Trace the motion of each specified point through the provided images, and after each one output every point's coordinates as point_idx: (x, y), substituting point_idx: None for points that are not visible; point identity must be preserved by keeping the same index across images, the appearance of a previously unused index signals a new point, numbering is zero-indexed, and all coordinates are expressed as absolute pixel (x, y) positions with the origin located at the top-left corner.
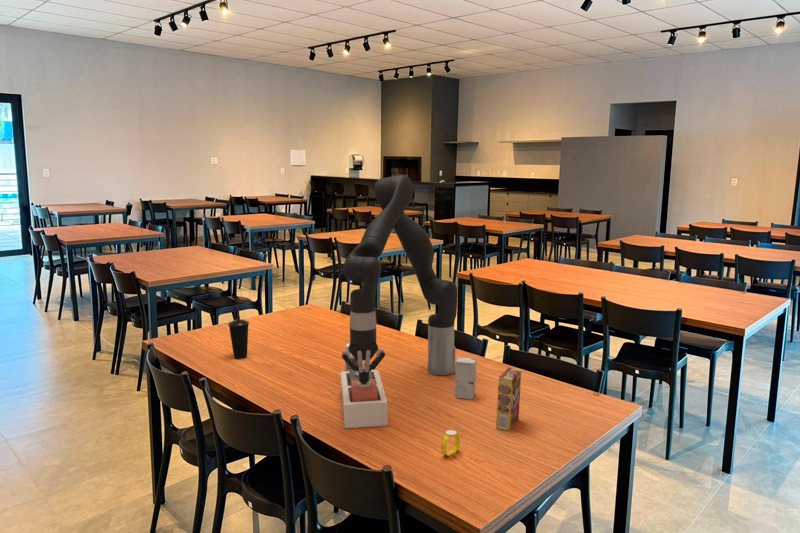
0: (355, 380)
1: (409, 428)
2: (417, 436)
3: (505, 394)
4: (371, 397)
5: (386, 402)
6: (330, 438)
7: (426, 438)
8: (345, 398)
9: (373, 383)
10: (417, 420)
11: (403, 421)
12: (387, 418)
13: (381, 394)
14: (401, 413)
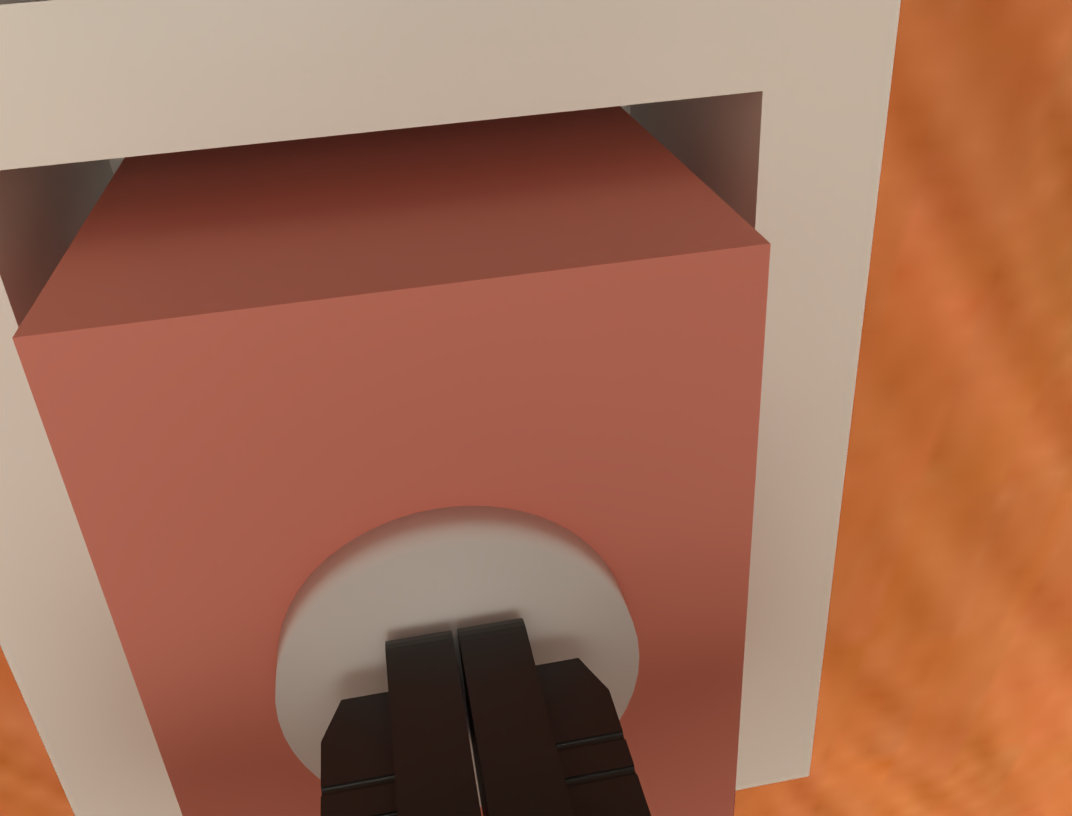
0: (172, 352)
1: (902, 583)
2: (926, 710)
3: None
4: None
5: (793, 776)
6: (49, 813)
7: (988, 733)
8: (68, 718)
9: (698, 543)
10: (1047, 413)
11: (887, 439)
12: None
13: (773, 526)
14: (926, 221)
